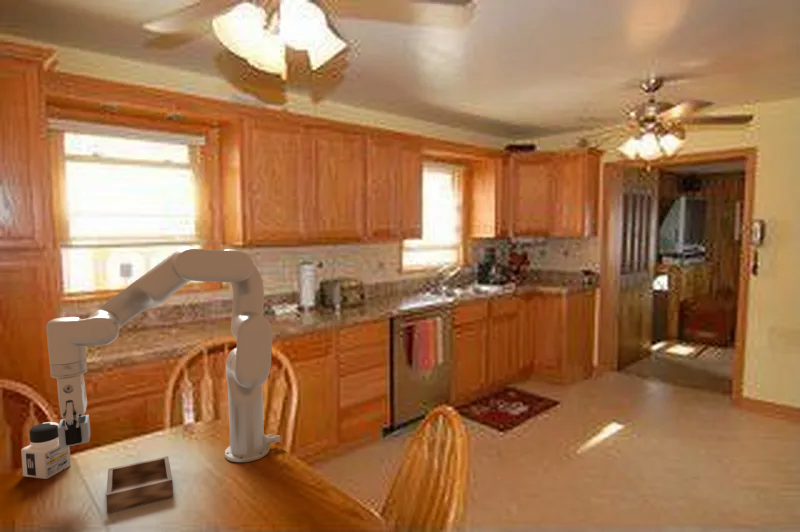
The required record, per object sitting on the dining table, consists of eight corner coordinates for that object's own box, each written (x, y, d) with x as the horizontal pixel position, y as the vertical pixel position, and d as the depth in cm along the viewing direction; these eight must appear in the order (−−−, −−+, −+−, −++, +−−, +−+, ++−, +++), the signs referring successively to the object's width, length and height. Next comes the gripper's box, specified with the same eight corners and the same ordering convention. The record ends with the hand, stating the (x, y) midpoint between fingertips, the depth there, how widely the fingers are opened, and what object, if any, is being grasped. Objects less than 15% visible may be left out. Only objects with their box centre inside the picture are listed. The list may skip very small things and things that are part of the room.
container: (46, 479, 130) (43, 432, 129) (22, 476, 131) (18, 429, 130) (71, 465, 137) (68, 420, 136) (48, 462, 139) (45, 418, 138)
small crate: (90, 433, 126) (88, 414, 126) (88, 442, 121) (87, 422, 121) (62, 438, 124) (60, 419, 123) (59, 448, 118) (57, 428, 118)
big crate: (169, 472, 133) (168, 456, 133) (173, 497, 121) (172, 479, 121) (109, 485, 127) (108, 468, 126) (107, 513, 115) (106, 495, 114)
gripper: (84, 374, 115) (90, 448, 117) (89, 357, 130) (95, 422, 132) (45, 380, 111) (52, 456, 113) (54, 361, 126) (61, 429, 128)
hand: (75, 437), depth 122 cm, fingers closed on small crate, 6 cm apart
